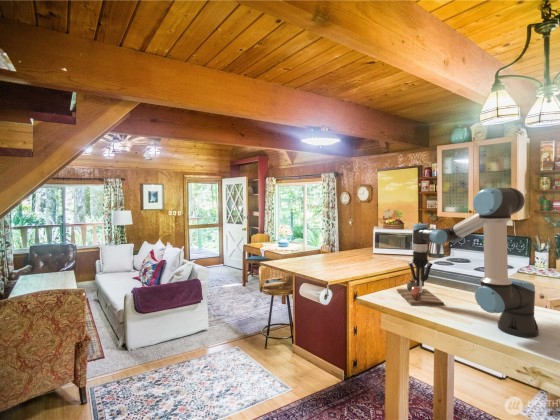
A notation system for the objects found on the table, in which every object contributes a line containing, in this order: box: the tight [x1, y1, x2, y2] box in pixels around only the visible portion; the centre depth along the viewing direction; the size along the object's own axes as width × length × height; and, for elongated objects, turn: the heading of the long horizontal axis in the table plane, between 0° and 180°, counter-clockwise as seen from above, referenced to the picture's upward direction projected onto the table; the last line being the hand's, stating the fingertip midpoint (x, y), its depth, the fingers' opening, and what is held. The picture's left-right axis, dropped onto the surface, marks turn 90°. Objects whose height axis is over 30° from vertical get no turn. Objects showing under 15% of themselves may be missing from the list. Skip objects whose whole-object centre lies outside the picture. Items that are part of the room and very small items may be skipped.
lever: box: [411, 286, 419, 299], centre depth 196 cm, size 20×6×7 cm, turn 156°
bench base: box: [396, 276, 445, 306], centre depth 196 cm, size 26×18×10 cm
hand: (420, 292), depth 188 cm, fingers closed
